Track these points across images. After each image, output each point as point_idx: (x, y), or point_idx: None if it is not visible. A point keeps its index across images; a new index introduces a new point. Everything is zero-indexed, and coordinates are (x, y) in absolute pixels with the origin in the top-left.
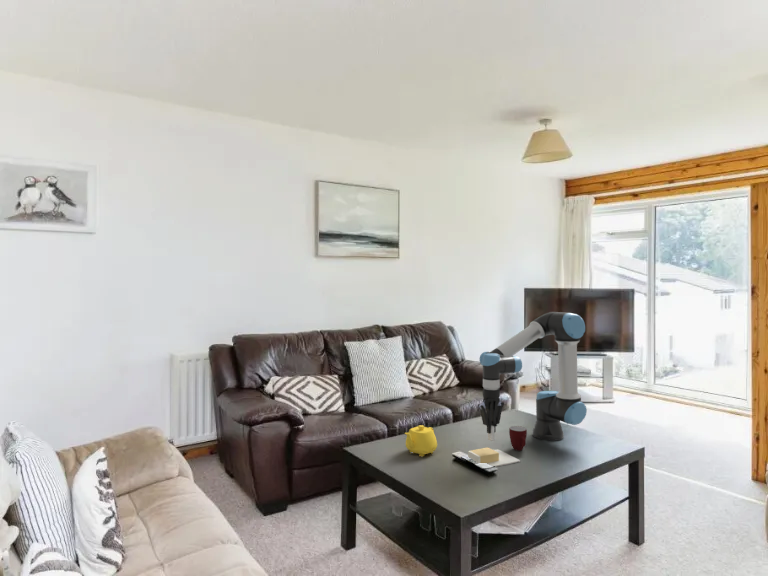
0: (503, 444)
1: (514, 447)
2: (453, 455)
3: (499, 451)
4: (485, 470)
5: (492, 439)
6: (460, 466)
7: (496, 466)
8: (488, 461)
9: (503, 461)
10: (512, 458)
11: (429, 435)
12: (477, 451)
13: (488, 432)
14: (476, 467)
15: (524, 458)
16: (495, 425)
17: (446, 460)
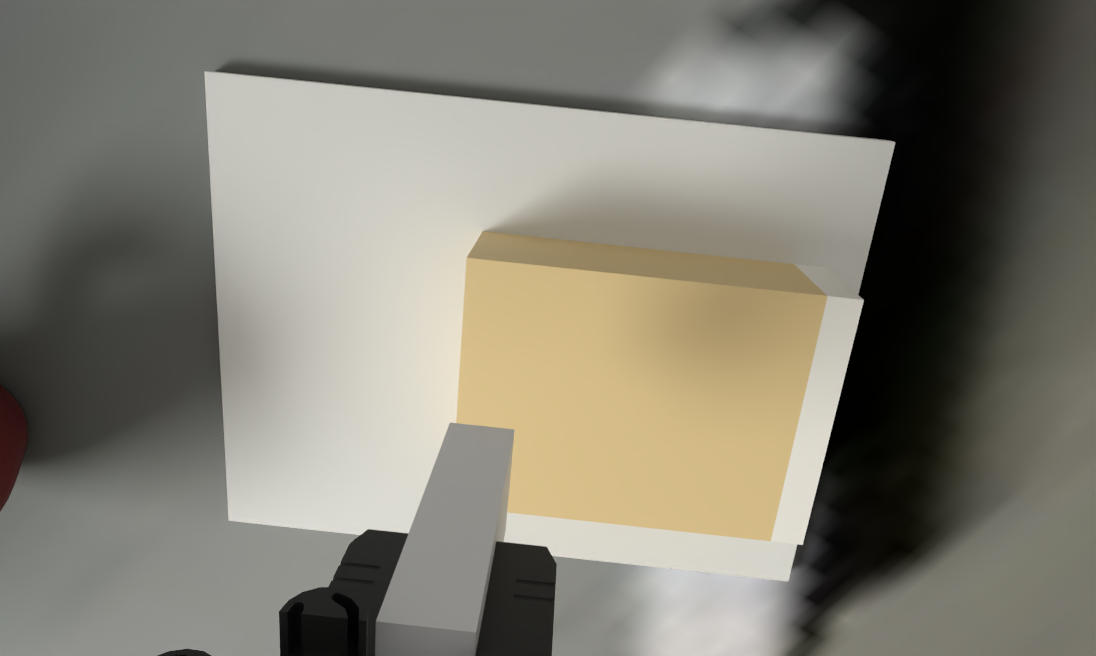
0: (55, 610)
1: (15, 429)
2: (804, 652)
3: (260, 459)
4: (861, 96)
5: (491, 442)
6: (1013, 373)
7: (636, 115)
8: (660, 254)
9: (447, 175)
10: (261, 191)
11: None
12: (705, 465)
13: (554, 573)
14: (876, 242)
15: (83, 139)
16: (335, 626)
17: (990, 588)
